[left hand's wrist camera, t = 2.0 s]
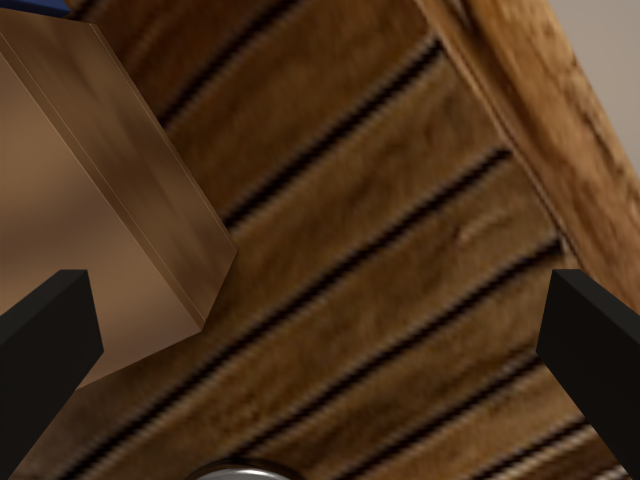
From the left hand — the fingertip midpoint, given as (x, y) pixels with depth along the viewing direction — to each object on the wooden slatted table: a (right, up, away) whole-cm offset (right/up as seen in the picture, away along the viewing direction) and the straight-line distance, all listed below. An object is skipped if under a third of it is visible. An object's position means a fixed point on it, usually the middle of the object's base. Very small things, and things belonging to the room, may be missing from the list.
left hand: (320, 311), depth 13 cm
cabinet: (-15, +7, +20) cm, 26 cm away
